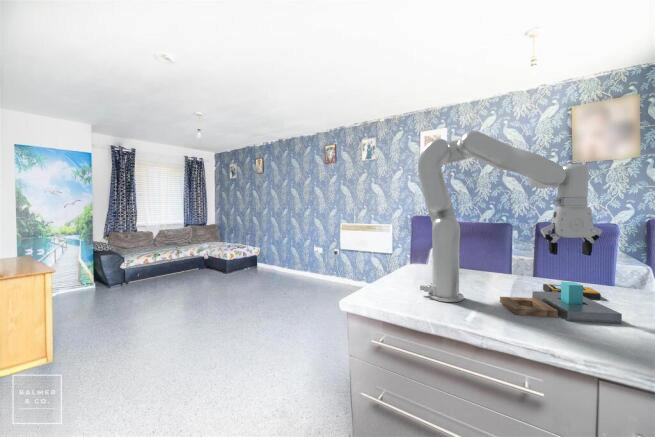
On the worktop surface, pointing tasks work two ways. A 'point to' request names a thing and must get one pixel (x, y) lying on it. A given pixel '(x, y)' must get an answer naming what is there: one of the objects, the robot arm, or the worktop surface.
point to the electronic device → (587, 291)
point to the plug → (572, 293)
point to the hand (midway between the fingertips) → (569, 254)
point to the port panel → (579, 309)
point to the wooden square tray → (528, 306)
